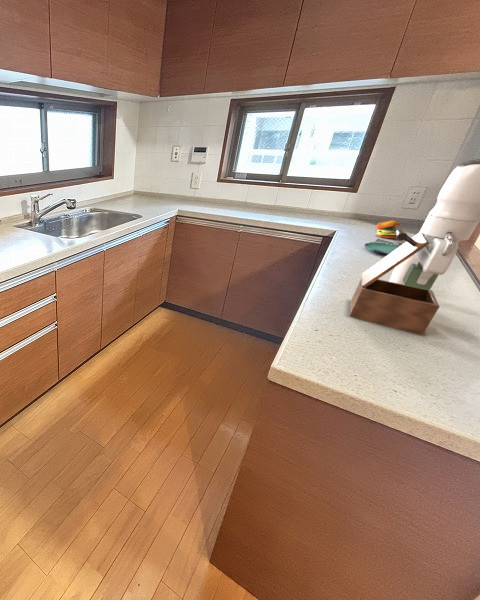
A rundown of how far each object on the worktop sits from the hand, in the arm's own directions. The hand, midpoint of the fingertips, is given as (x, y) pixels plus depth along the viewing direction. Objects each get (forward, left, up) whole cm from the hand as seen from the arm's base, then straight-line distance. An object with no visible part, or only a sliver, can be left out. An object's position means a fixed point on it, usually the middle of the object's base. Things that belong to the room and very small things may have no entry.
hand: (418, 279), depth 87 cm
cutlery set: (-3, -87, -13) cm, 88 cm away
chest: (+3, 0, -13) cm, 13 cm away
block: (0, 0, -2) cm, 2 cm away
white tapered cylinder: (-1, -25, -13) cm, 28 cm away
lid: (+6, 0, +4) cm, 7 cm away
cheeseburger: (-2, -118, -13) cm, 119 cm away
